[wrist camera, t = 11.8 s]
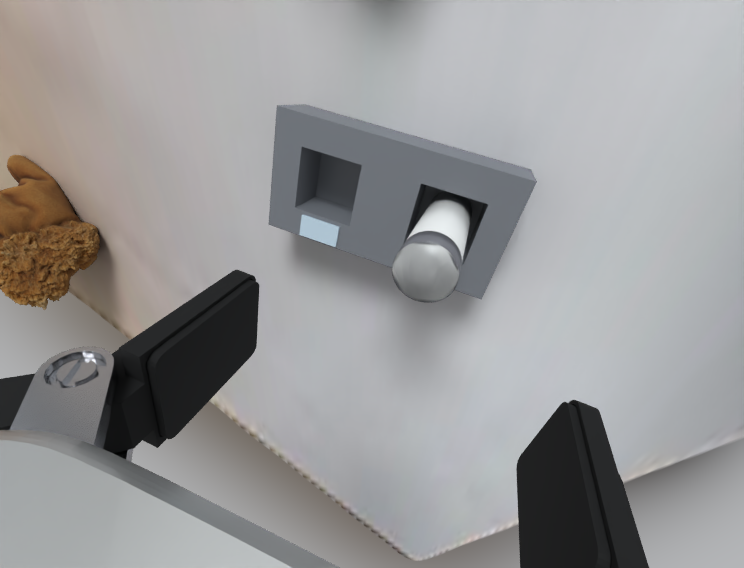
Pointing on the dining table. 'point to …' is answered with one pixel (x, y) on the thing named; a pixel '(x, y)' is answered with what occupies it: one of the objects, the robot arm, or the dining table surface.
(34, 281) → the stuffed squirrel
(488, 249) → the socket block
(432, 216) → the plug
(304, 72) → the dining table surface
